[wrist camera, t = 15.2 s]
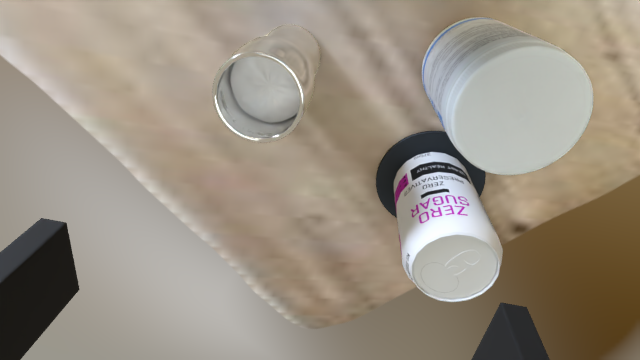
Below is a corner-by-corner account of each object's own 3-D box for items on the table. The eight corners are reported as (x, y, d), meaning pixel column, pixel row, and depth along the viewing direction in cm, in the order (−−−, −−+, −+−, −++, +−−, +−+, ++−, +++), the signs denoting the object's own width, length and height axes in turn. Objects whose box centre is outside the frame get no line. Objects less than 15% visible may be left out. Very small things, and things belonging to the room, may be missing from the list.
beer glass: (245, 64, 43) (192, 111, 30) (279, 4, 40) (237, 26, 27) (301, 102, 44) (274, 162, 31) (338, 46, 41) (326, 88, 28)
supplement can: (425, 225, 50) (446, 321, 37) (378, 180, 48) (383, 266, 34) (482, 184, 47) (529, 273, 33) (434, 134, 44) (464, 209, 31)
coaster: (360, 153, 47) (360, 154, 46) (468, 114, 43) (469, 115, 43) (396, 236, 51) (396, 238, 51) (496, 206, 48) (497, 208, 48)
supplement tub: (406, 96, 43) (423, 155, 30) (444, 1, 39) (484, 23, 26) (493, 124, 44) (548, 194, 31) (541, 33, 39) (629, 70, 26)
